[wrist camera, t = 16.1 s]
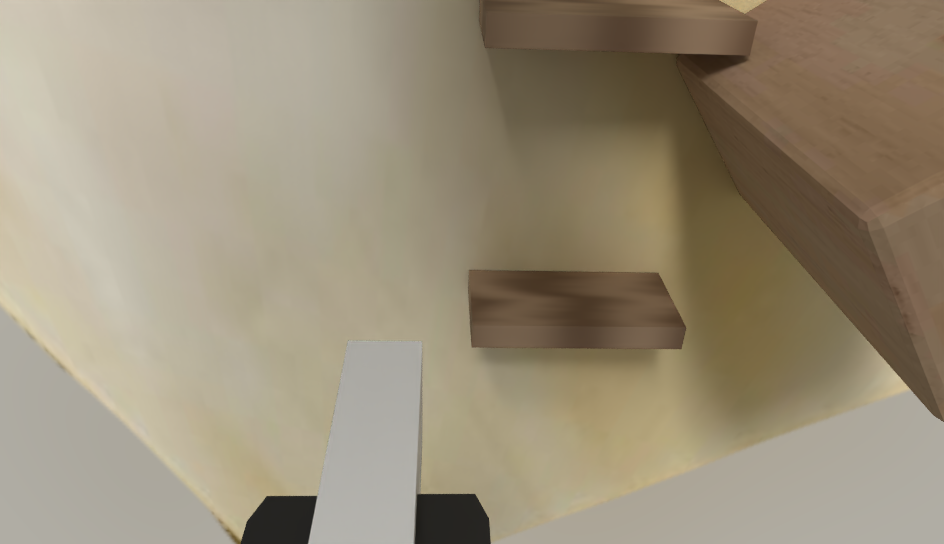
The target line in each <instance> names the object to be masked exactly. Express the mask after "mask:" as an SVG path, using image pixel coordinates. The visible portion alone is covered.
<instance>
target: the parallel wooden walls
mask: <svg viewBox="0 0 944 544" xmlns="http://www.w3.org/2000/svg"><path fill="white" fill-rule="evenodd" d="M479 22H480V27H481V31H482V36H483V41H484V45H485V48H510V49H544V50H578V51H613V52H647V53H681V54H716V55H750V53H751V48H752V44H753V40H754V36H755V31H756V27H757V23H758V21H757V20H755V19H753V18H751V17H749V16H748V15H746V14H744V13H742V12H740V11H738V10H736V9H734V8H732V7H730V6H729V5H727V4H725V3H723V2H721V1H719V0H480V11H479ZM468 294H469V311H470V329H471V346H472V347H490V348H612V349H681V348H682V344H683V339H684V335H685V331H686V326H685V324H684V322H683V320H682V318H681V316H680V314H679V312H678V310H677V309H676V307H675V305H674V303H673V301H672V299H671V297H670V295H669V293H668V291H667V289H666V287H665V285H664V283H663V281H662V279H661V277H660V276H659V274H658V273H628V272H555V271H481V270H469V286H468Z"/></svg>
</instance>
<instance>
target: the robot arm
mask: <svg viewBox="0 0 944 544" xmlns="http://www.w3.org/2000/svg"><path fill="white" fill-rule="evenodd" d="M421 460H422V341H348V343H347V348H346V354H345V359H344V364H343V369H342V374H341V379H340V384H339V389H338V394H337V399H336V405H335V410H334V415H333V420H332V425H331V430H330V435H329V440H328V445H327V450H326V455H325V461H324V466H323V471H322V476H321V481H320V486H319V491H318V496H267V497H266V498H265V499H264V501H263V502H262V503H261V504H260V506H259V507H258V508H257V509H256V511H255V512H254V513H253V515H252V516H251V517H250V518H249V520H248V521H247V524H246V527H245V530H244V534H243V537H242V541H241V544H491V542H490V527H489V518H488V516H487V514H486V513H485V511H484V509H483V507H482V505H481V504H480V502H479V500H478V498H477V497H476V495H475V494H420V488H421Z"/></svg>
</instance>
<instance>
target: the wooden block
mask: <svg viewBox="0 0 944 544" xmlns="http://www.w3.org/2000/svg"><path fill="white" fill-rule="evenodd" d="M746 15H748V16H749V17H751V18H753V19H755V20H757V21H758V23H757V27H756V31H755V36H754V40H753V44H752V48H751V53H750V55H716V54H680V55H679V56H678V57H677V67H678V69H679V71H680V73H681V75H682V77H683V79H684V81H685V83H686V86H687V88H688V90H689V92H690V94H691V96H692V98H693V100H694V102H695V104H696V106H697V108H698V110H699V112H700V114H701V116H702V118H703V120H704V122H705V124H706V126H707V128H708V130H709V132H710V134H711V137H712V139H713V141H714V143H715V145H716V147H717V149H718V151H719V153H720V155H721V157H722V159H723V161H724V163H725V165H726V167H727V169H728V171H729V173H730V175H731V177H732V179H733V181H734V183H735V185H736V188H737V190H738V192H739V194H740V195H741V196H742V198H743V199H744V200H745V201H746V202H747V203H748V204H749V206H750V207H751V208H752V209H753V210H754V211H755V212H756V213H757V215H758V216H759V217H760V218H761V219H762V220H763V221H764V223H765V224H766V225H767V226H768V227H769V228H770V229H771V231H772V232H773V233H774V234H775V235H776V236H777V237H778V239H779V240H780V241H781V242H782V243H783V244H784V245H785V247H786V248H787V249H788V250H789V251H790V252H791V253H792V255H793V256H794V257H795V258H796V259H797V260H798V261H799V263H800V264H801V265H802V266H803V267H804V268H805V269H806V271H807V272H808V273H809V274H810V275H811V276H812V277H813V279H814V280H815V281H816V282H817V283H818V284H819V285H820V287H821V288H822V289H823V290H824V291H825V292H826V293H827V295H828V296H829V297H830V298H831V299H832V300H833V301H834V303H835V304H836V305H837V306H838V307H839V308H840V309H841V310H842V312H843V313H844V314H845V315H846V316H847V317H848V318H849V320H850V321H851V322H852V323H853V324H854V325H855V326H856V328H857V329H858V330H859V331H860V332H861V333H862V334H863V336H864V337H865V338H866V339H867V340H868V341H869V342H870V344H871V345H872V346H873V347H874V348H875V349H876V350H877V352H878V353H879V354H880V355H881V356H882V357H883V358H884V360H885V361H886V362H887V363H888V364H889V365H890V366H891V368H892V369H893V370H894V371H895V372H896V373H897V374H898V376H899V377H900V378H901V379H902V380H903V381H904V382H905V384H906V385H907V386H908V387H909V388H910V389H911V390H912V392H913V393H914V394H915V395H916V396H917V397H918V398H919V399H920V401H921V402H922V403H923V404H924V405H925V406H926V407H927V409H928V410H929V411H930V412H931V413H932V414H933V415H934V416H935V417H937V418H938V419H940V420H941V421H943V422H944V0H767V1H765V2H764V3H762V4H760V5H759V6H757V7H755V8H754V9H752V10H751V11H749V12H747V13H746Z"/></svg>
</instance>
